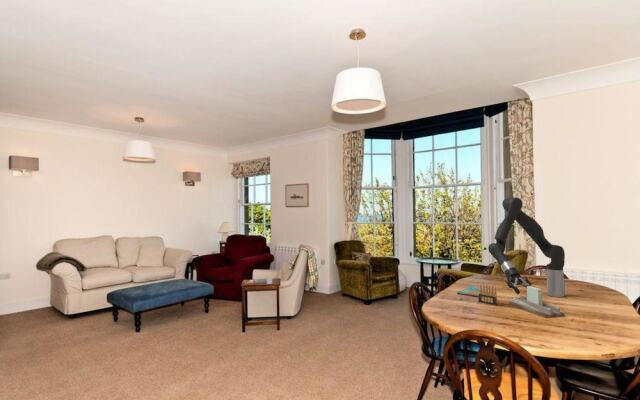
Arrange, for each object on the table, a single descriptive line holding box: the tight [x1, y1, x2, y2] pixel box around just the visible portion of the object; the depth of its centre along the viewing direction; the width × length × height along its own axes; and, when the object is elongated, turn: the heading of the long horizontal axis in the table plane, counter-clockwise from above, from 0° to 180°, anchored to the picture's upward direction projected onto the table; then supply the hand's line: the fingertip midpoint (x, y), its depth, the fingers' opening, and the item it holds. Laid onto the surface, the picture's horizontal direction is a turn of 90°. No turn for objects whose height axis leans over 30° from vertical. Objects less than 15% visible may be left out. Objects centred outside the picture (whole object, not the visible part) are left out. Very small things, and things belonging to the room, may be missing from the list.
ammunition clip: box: [478, 282, 498, 306], centre depth 214 cm, size 11×2×12 cm, turn 39°
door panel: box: [526, 285, 543, 306], centre depth 199 cm, size 3×8×11 cm, turn 12°
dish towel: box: [456, 285, 494, 299], centre depth 240 cm, size 17×23×2 cm
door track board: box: [508, 295, 566, 319], centre depth 199 cm, size 12×26×4 cm, turn 12°
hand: (525, 293), depth 206 cm, fingers open, 8 cm apart
